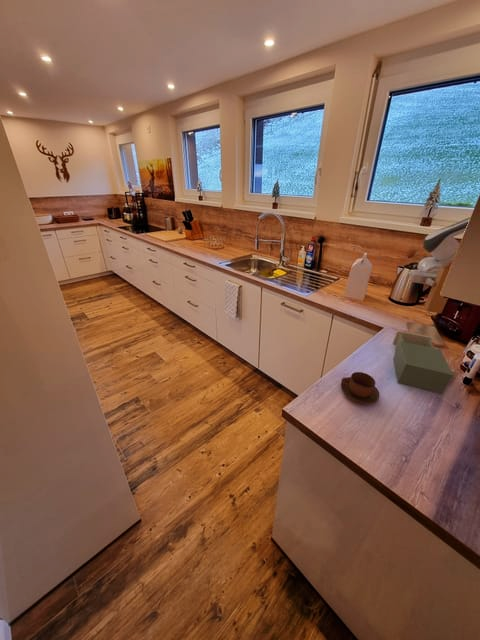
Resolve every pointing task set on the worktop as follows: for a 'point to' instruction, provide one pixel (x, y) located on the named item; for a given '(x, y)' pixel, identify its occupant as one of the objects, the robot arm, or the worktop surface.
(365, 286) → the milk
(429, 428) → the worktop surface
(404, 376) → the green box
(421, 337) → the drawer
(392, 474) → the worktop surface
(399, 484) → the worktop surface
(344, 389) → the cup and saucer
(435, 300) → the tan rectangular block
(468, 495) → the worktop surface
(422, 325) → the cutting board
